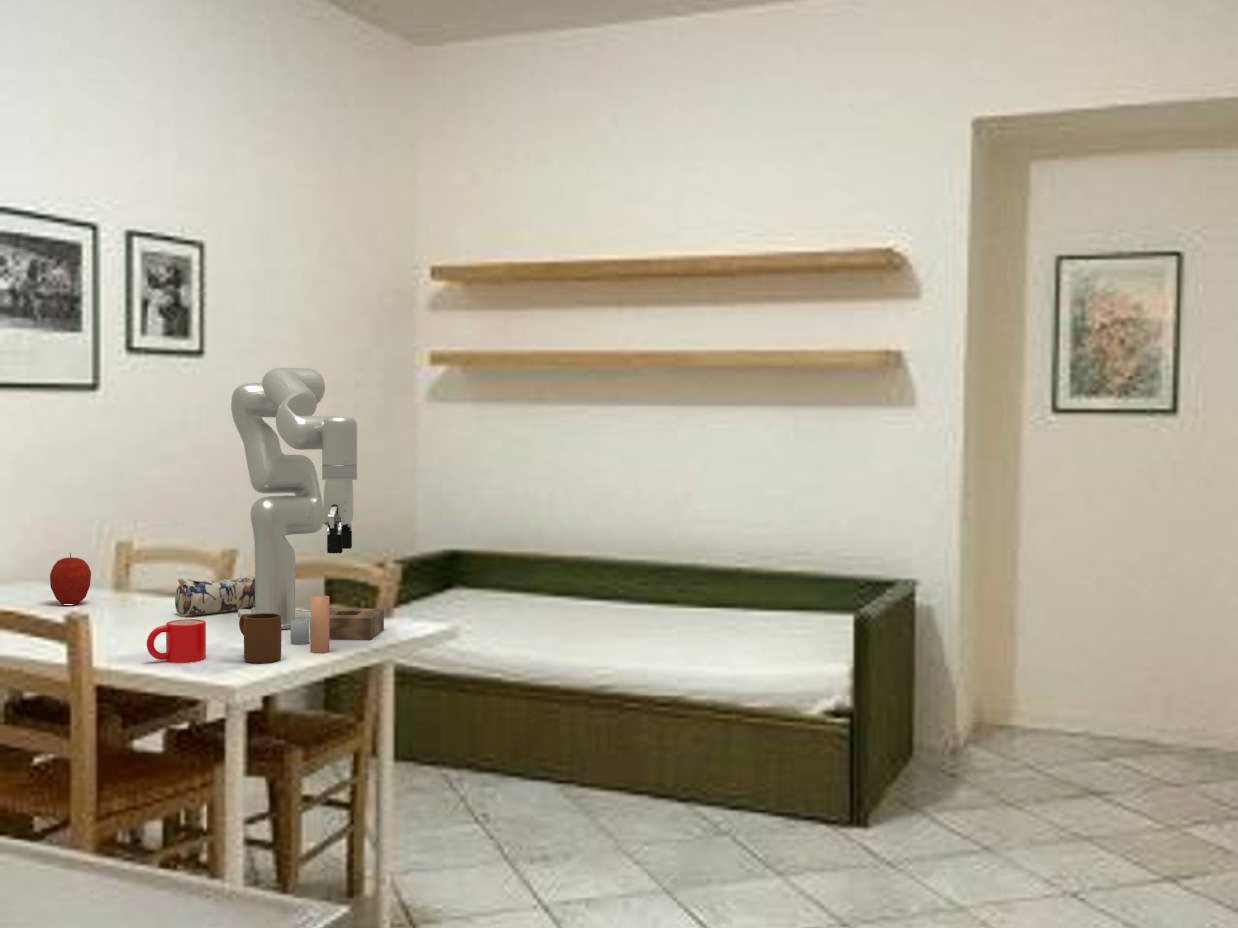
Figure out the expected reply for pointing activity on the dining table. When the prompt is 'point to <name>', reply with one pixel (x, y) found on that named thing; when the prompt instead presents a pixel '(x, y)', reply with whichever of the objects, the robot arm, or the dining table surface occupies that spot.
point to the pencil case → (214, 596)
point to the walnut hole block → (355, 623)
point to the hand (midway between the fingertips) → (339, 550)
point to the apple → (70, 580)
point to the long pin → (319, 624)
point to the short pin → (299, 632)
